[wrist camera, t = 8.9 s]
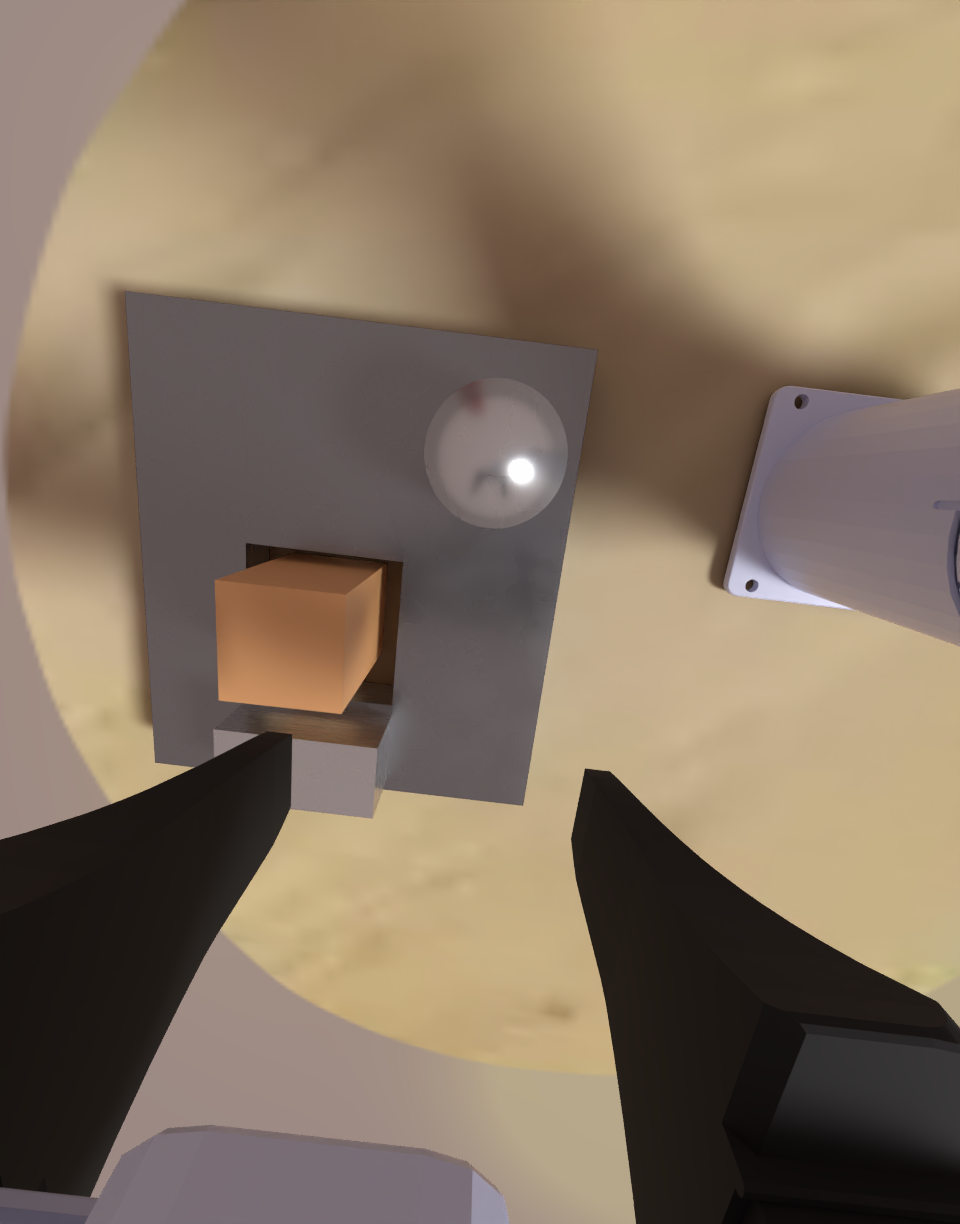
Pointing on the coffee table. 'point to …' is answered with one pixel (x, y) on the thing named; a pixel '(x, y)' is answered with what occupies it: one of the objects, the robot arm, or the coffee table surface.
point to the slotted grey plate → (358, 529)
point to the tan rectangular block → (299, 631)
